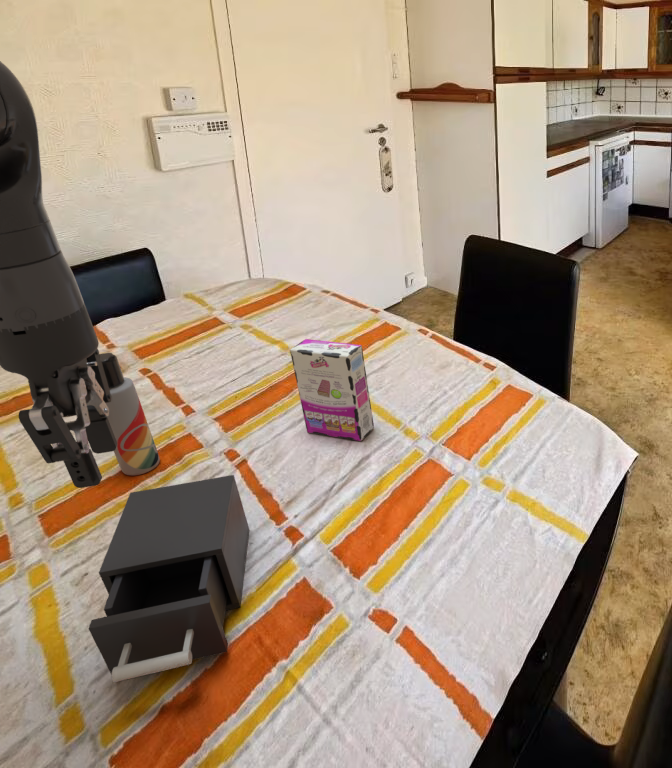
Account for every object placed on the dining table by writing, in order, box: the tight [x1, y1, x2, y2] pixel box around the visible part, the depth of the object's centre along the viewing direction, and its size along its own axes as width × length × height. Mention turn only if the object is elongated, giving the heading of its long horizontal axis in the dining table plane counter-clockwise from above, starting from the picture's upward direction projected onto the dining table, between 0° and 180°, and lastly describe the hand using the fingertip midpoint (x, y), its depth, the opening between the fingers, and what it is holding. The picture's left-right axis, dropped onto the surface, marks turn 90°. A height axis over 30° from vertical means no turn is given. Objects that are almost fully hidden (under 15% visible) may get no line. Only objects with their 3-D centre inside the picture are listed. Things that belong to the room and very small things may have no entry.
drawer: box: [88, 555, 229, 683], centre depth 70 cm, size 18×11×8 cm, turn 16°
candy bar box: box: [289, 338, 375, 442], centre depth 107 cm, size 11×5×16 cm, turn 73°
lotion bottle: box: [99, 352, 161, 476], centre depth 97 cm, size 6×6×20 cm
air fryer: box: [98, 474, 250, 612], centre depth 78 cm, size 15×13×10 cm
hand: (98, 466), depth 62 cm, fingers open, 5 cm apart
